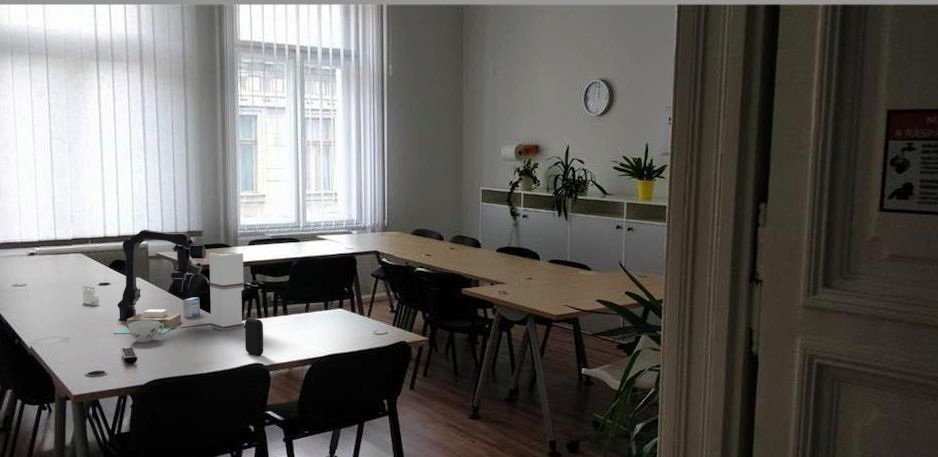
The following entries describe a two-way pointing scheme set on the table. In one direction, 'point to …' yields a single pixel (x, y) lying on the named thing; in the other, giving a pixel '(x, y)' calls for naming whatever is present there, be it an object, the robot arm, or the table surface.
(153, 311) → the white rectangular block
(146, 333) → the teacup
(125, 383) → the table surface
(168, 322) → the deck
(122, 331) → the mat
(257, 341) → the carrying case or bag
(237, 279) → the white square table lamp
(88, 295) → the ink cartridge box
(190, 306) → the medicine box
